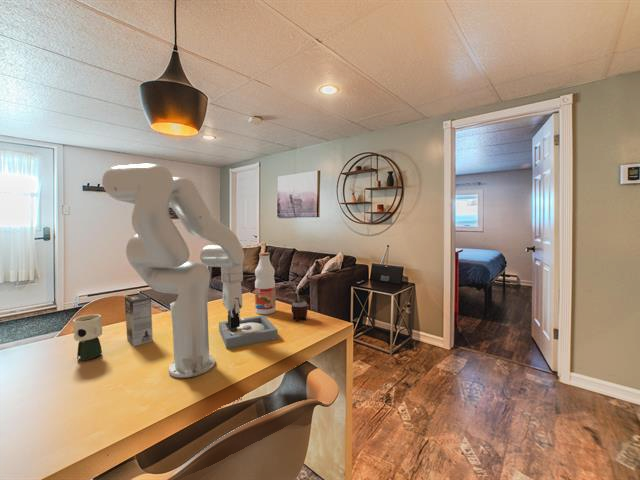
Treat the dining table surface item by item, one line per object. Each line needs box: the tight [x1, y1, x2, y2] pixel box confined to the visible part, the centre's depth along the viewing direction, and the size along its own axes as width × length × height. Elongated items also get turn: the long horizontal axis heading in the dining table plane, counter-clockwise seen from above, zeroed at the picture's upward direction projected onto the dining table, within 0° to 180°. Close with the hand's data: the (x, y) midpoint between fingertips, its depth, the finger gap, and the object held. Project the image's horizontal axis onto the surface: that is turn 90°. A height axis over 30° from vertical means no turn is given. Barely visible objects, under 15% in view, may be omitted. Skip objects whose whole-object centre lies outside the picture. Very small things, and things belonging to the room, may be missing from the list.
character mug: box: [72, 313, 103, 361], centre depth 93 cm, size 11×7×13 cm, turn 70°
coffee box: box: [124, 293, 154, 347], centre depth 106 cm, size 9×6×16 cm
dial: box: [228, 310, 264, 336], centre depth 111 cm, size 13×13×9 cm
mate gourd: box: [290, 282, 309, 323], centre depth 127 cm, size 8×8×15 cm
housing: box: [218, 314, 279, 350], centre depth 111 cm, size 18×18×4 cm
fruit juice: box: [254, 251, 277, 315], centre depth 138 cm, size 9×9×28 cm
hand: (233, 325), depth 109 cm, fingers closed on dial, 2 cm apart
